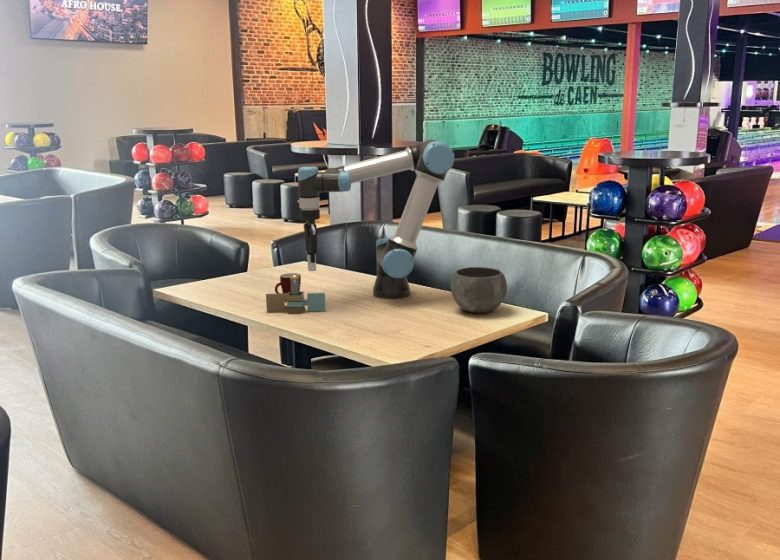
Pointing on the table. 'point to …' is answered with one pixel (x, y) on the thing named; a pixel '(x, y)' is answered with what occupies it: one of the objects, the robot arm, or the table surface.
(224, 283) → the table surface
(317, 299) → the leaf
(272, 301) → the square hinge knuckle
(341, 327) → the table surface
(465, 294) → the bowl
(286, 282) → the mug
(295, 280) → the pin
